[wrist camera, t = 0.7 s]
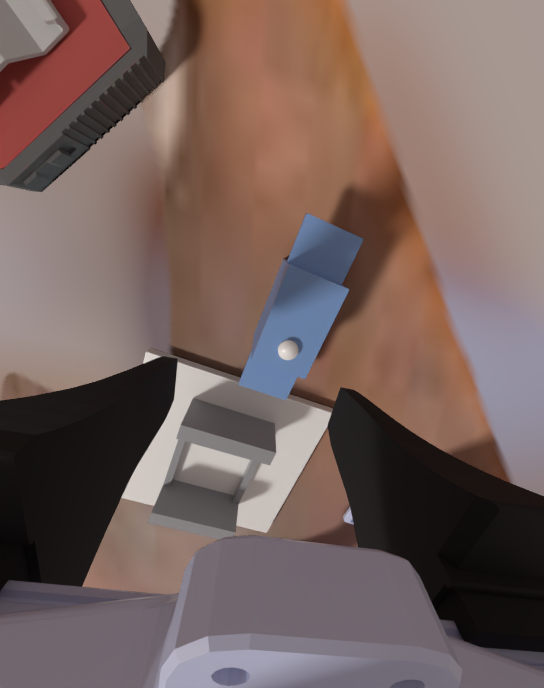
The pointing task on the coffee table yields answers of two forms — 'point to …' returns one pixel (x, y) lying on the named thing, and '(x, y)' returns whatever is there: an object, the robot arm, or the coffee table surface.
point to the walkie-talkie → (67, 81)
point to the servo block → (300, 307)
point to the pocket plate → (224, 453)
